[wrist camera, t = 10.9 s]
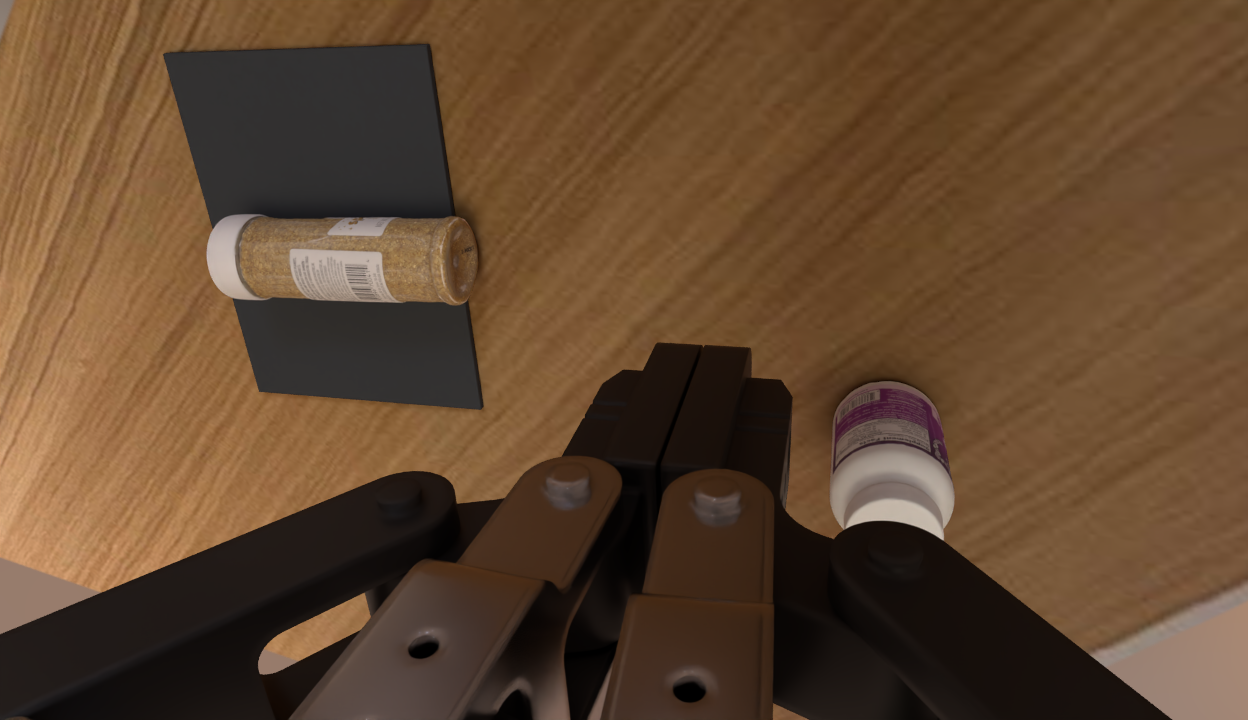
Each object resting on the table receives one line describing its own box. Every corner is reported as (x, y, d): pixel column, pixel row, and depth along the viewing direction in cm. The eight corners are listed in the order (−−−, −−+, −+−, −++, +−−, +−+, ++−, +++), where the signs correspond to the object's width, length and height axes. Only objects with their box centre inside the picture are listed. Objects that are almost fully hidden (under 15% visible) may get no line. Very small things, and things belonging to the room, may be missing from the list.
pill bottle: (934, 471, 43) (953, 598, 35) (829, 461, 44) (824, 582, 36) (947, 379, 41) (970, 493, 32) (836, 372, 42) (831, 480, 34)
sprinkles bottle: (457, 197, 41) (221, 196, 44) (435, 276, 39) (190, 270, 42) (488, 249, 45) (270, 245, 48) (469, 323, 43) (243, 314, 46)
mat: (168, 52, 43) (162, 53, 43) (430, 44, 40) (426, 44, 39) (262, 389, 52) (259, 391, 52) (483, 406, 48) (481, 410, 48)
